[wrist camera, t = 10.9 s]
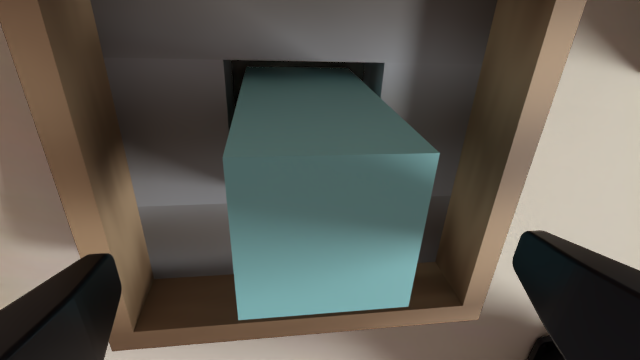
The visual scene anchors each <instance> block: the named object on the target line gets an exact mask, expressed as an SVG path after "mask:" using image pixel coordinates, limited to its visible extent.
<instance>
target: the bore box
mask: <svg viewBox="0 0 640 360" xmlns="http://www.w3.org/2000/svg"><path fill="white" fill-rule="evenodd" d="M586 2H587V0H0V23H1V26H2V29H3V32H4V35H5V38H6V41H7V44H8V46H9V49H10V52H11V55H12V58H13V61H14V64H15V67H16V70H17V73H18V76H19V79H20V82H21V85H22V88H23V91H24V93H25V96H26V99H27V102H28V105H29V108H30V111H31V114H32V117H33V120H34V123H35V126H36V129H37V132H38V135H39V138H40V141H41V143H42V146H43V149H44V152H45V155H46V158H47V161H48V164H49V167H50V170H51V173H52V176H53V179H54V182H55V185H56V188H57V190H58V193H59V196H60V199H61V202H62V205H63V208H64V211H65V214H66V217H67V220H68V223H69V226H70V229H71V232H72V235H73V237H74V240H75V243H76V246H77V249H78V252H79V255H80V258H83V257H84V256H86V255H88V254H98V253H109V254H111V255H112V256H113V258H114V260H115V263H116V267H117V270H118V274H119V277H120V281H121V285H122V292H121V298H120V301H119V305H118V309H117V312H116V316H115V320H114V324H113V327H112V331H111V335H110V338H109V343H110V346H111V349H112V351H121V350H132V349H144V348H156V347H167V346H179V345H190V344H202V343H214V342H225V341H237V340H249V339H260V338H272V337H284V336H295V335H307V334H319V333H330V332H342V331H354V330H365V329H377V328H388V327H400V326H412V325H423V324H435V323H447V322H458V321H470V320H478V319H479V316H480V313H481V310H482V307H483V304H484V301H485V298H486V295H487V292H488V289H489V286H490V283H491V281H492V278H493V275H494V272H495V269H496V266H497V263H498V260H499V257H500V254H501V251H502V248H503V245H504V242H505V239H506V236H507V234H508V231H509V228H510V225H511V222H512V219H513V216H514V213H515V210H516V207H517V204H518V201H519V198H520V195H521V192H522V189H523V187H524V184H525V181H526V178H527V175H528V172H529V169H530V166H531V163H532V160H533V157H534V154H535V151H536V148H537V145H538V142H539V140H540V137H541V134H542V131H543V128H544V125H545V122H546V119H547V116H548V113H549V110H550V107H551V104H552V101H553V98H554V96H555V93H556V90H557V87H558V84H559V81H560V78H561V75H562V72H563V69H564V66H565V63H566V60H567V57H568V54H569V51H570V49H571V46H572V43H573V40H574V37H575V34H576V31H577V28H578V25H579V22H580V19H581V16H582V13H583V10H584V7H585V4H586ZM231 60H266V61H322V62H364V73H363V82H364V83H365V84H366V85H367V86H368V87H369V88H370V89H371V90H372V91H373V92H374V93H375V94H377V95H378V96H379V97H380V98H381V99H382V100H383V101H384V102H385V103H386V104H387V105H388V106H389V107H391V108H392V109H393V110H394V111H395V112H396V113H397V114H398V115H399V116H400V117H401V118H402V119H404V120H405V121H406V122H407V123H408V124H409V125H410V126H411V127H412V128H413V129H414V130H415V131H417V132H418V133H419V134H420V135H421V136H422V137H423V138H424V139H425V140H426V141H427V142H428V143H430V144H431V145H432V146H433V147H434V148H435V149H436V150H437V151H438V152H439V153H440V155H439V160H438V165H437V170H436V175H435V179H434V184H433V189H432V194H431V199H430V204H429V209H428V214H427V218H426V223H425V228H424V233H423V238H422V243H421V248H420V252H419V257H418V262H417V267H416V272H415V277H414V282H413V287H412V291H411V296H410V301H409V306H408V307H398V308H385V309H373V310H360V311H348V312H335V313H323V314H310V315H298V316H285V317H273V318H260V319H248V320H238V311H237V301H236V291H235V281H234V270H233V260H232V250H231V240H230V229H229V219H228V209H227V199H226V188H225V178H224V168H223V154H224V150H225V146H226V142H227V139H228V135H229V131H230V127H231V123H232V120H233V116H234V112H235V106H234V92H233V78H232V65H231Z"/></svg>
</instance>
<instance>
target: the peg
mask: <svg viewBox="0 0 640 360" xmlns="http://www.w3.org/2000/svg"><path fill="white" fill-rule="evenodd" d="M439 155H440V153H439V152H438V151H437V150H436V149H435V148H434V147H433V146H432V145H431V144H430V143H428V142H427V141H426V140H425V139H424V138H423V137H422V136H421V135H420V134H419V133H418V132H417V131H415V130H414V129H413V128H412V127H411V126H410V125H409V124H408V123H407V122H406V121H405V120H404V119H402V118H401V117H400V116H399V115H398V114H397V113H396V112H395V111H394V110H393V109H392V108H391V107H389V106H388V105H387V104H386V103H385V102H384V101H383V100H382V99H381V98H380V97H379V96H378V95H377V94H375V93H374V92H373V91H372V90H371V89H370V88H369V87H368V86H367V85H366V84H365V83H364V82H362V81H361V80H360V79H359V78H358V77H357V76H356V75H355V74H354V73H353V72H352V71H351V70H349V69H348V68H316V67H246V70H245V74H244V78H243V82H242V85H241V89H240V93H239V97H238V101H237V104H236V108H235V112H234V116H233V120H232V123H231V127H230V131H229V135H228V139H227V142H226V146H225V150H224V154H223V168H224V178H225V188H226V199H227V209H228V219H229V229H230V240H231V250H232V260H233V270H234V281H235V291H236V301H237V311H238V320H248V319H260V318H273V317H285V316H298V315H310V314H323V313H335V312H348V311H360V310H373V309H385V308H398V307H408V306H409V301H410V296H411V291H412V287H413V282H414V277H415V272H416V267H417V262H418V257H419V252H420V248H421V243H422V238H423V233H424V228H425V223H426V218H427V214H428V209H429V204H430V199H431V194H432V189H433V184H434V179H435V175H436V170H437V165H438V160H439Z"/></svg>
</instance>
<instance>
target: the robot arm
mask: <svg viewBox="0 0 640 360" xmlns="http://www.w3.org/2000/svg"><path fill="white" fill-rule="evenodd" d="M513 267H514V270H515V272H516V274H517V276H518V278H519V280H520V281H521V283H522V285H523V287H524V289H525V291H526V293H527V295H528V297H529V299H530V300H531V302H532V304H533V306H534V308H535V310H536V312H537V314H538V316H539V318H540V319H541V321H542V323H543V325H544V327H545V328H546V330H547V332H548V333H549V335H550V336H551V337H543V338H540V339H538V340H537V341H536V343H535V345H534V347H533V349H532V352H531V354H530V356H529V358H528V360H640V271H639V270H637V269H634V268H632V267H630V266H627V265H625V264H622V263H620V262H618V261H615V260H613V259H610V258H608V257H606V256H603V255H601V254H598V253H596V252H593V251H591V250H589V249H586V248H584V247H581V246H579V245H577V244H574V243H572V242H569V241H567V240H565V239H562V238H560V237H557V236H555V235H553V234H550V233H548V232H545V231H541V230H539V231H526V232H524V233H523V234H522V235H521V237H520V240H519V243H518V246H517V248H516V251H515V254H514V256H513ZM121 292H122V285H121V281H120V277H119V274H118V270H117V267H116V263H115V260H114V258H113V256H112V255H111V254H109V253H98V254H88V255H86V256H84V257H83V258H81V259H79V260H78V261H76V262H75V263H73V264H72V265H70V266H69V267H67V268H65V269H64V270H62V271H61V272H59V273H58V274H56V275H55V276H53V277H51V278H50V279H48V280H47V281H45V282H44V283H42V284H41V285H39V286H37V287H36V288H34V289H33V290H31V291H30V292H28V293H27V294H25V295H23V296H22V297H20V298H19V299H17V300H16V301H14V302H12V303H11V304H9V305H8V306H6V307H5V308H3V309H2V310H0V360H104V357H105V353H106V350H107V346H108V342H109V338H110V335H111V331H112V327H113V324H114V320H115V316H116V312H117V309H118V305H119V301H120V298H121Z"/></svg>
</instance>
